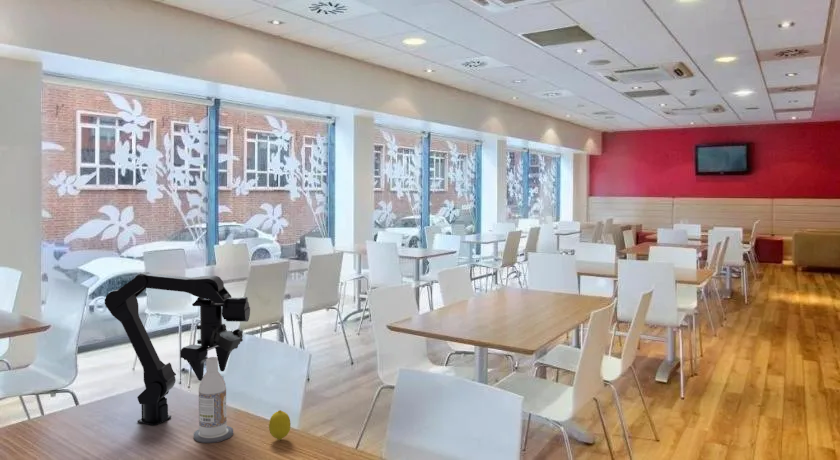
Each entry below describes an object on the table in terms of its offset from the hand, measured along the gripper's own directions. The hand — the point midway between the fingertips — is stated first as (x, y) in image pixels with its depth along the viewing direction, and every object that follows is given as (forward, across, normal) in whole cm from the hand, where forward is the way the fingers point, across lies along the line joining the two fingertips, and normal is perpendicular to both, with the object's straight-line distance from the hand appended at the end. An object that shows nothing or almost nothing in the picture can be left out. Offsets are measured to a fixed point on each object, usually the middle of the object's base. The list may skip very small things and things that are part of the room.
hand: (211, 375), depth 170 cm
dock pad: (+13, -8, -7) cm, 17 cm away
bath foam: (+12, -8, -7) cm, 16 cm away
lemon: (+13, -4, -25) cm, 29 cm away
